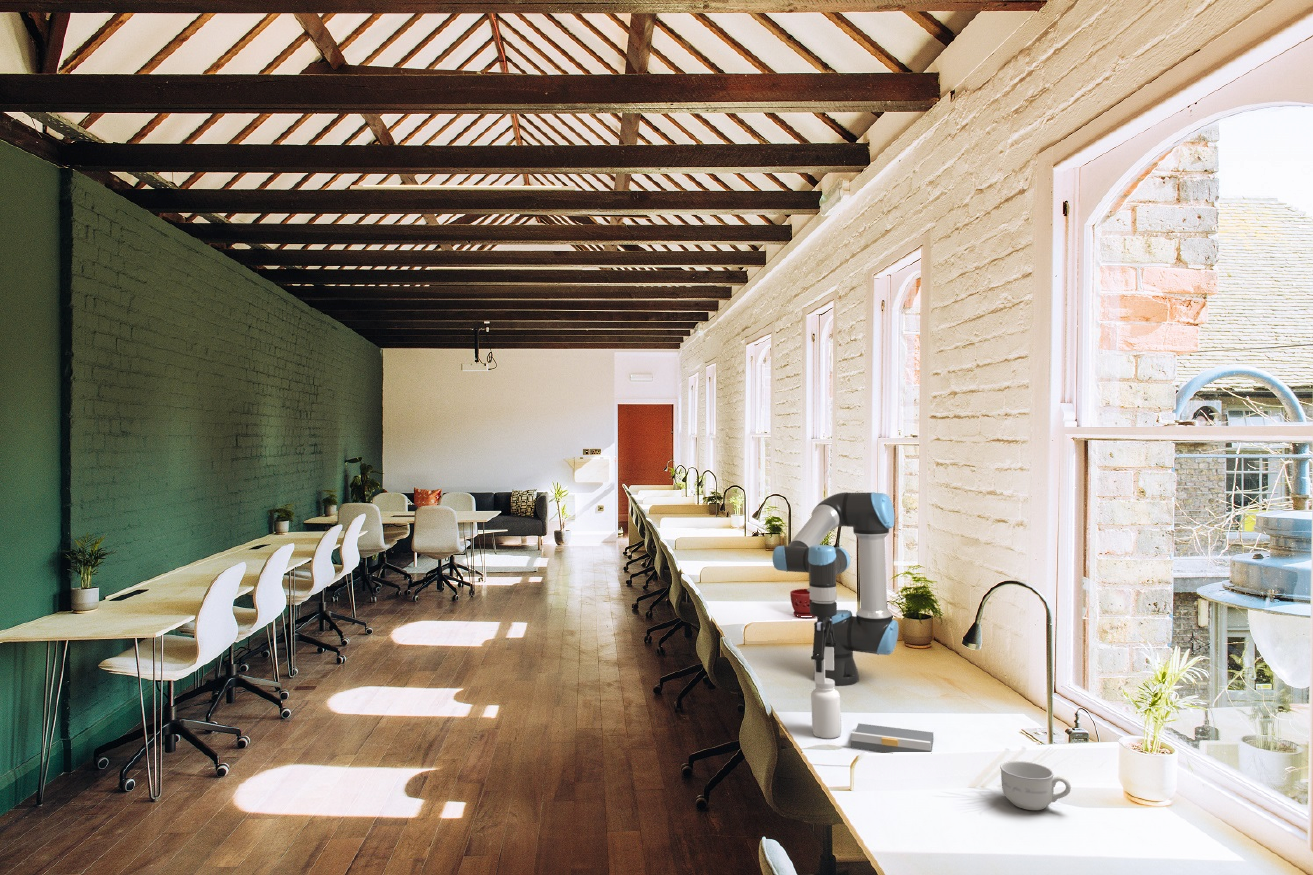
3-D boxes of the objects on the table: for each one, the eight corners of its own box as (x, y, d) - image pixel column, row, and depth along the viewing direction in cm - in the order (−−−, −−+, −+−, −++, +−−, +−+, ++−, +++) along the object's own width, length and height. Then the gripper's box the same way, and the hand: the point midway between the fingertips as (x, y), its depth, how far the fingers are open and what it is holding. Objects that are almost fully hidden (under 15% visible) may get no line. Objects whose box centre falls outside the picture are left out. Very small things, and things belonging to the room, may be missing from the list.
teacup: (993, 804, 168) (992, 768, 168) (1012, 788, 176) (1010, 754, 176) (1061, 826, 158) (1059, 788, 158) (1077, 807, 166) (1076, 771, 166)
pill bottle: (820, 726, 217) (818, 674, 217) (846, 732, 211) (844, 679, 212) (807, 735, 210) (805, 681, 211) (833, 741, 205) (831, 686, 205)
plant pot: (803, 611, 362) (802, 587, 362) (825, 616, 352) (824, 590, 352) (785, 616, 354) (784, 590, 354) (807, 620, 344) (806, 594, 344)
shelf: (858, 730, 213) (858, 716, 213) (933, 739, 205) (933, 724, 205) (851, 748, 200) (850, 733, 200) (930, 759, 192) (930, 743, 192)
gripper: (818, 592, 224) (820, 663, 224) (800, 608, 201) (801, 687, 201) (843, 593, 221) (845, 665, 221) (828, 610, 198) (830, 691, 198)
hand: (824, 676), depth 211 cm, fingers open, 13 cm apart
